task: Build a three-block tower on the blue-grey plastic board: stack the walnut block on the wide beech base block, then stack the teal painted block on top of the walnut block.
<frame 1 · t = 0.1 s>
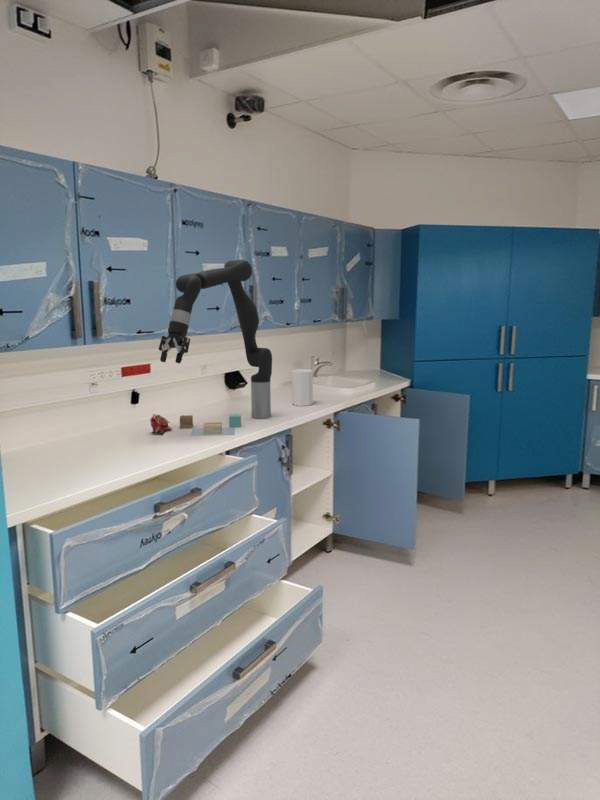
hand: (170, 362, 227), 31 cm above the worktop, tool tilted 20°, fingers open, 8 cm apart
base block: (212, 432, 240), point 1 cm above the worktop, touching board
board: (213, 434, 242), on the worktop
cup: (302, 404, 312), on the worktop
block teal: (235, 428, 253), on the worktop
block walnut: (186, 430, 251), on the worktop
flower: (161, 433, 245), on the worktop
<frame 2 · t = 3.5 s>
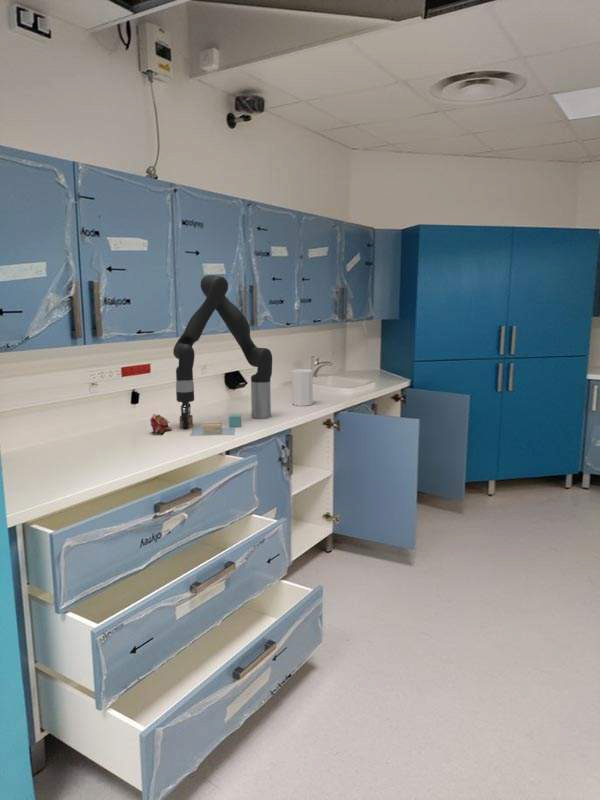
hand: (186, 428, 251), 0 cm above the worktop, tool pointing down, fingers closed on block walnut, 5 cm apart
block walnut: (186, 429, 251), on the worktop, touching gripper
everything else where it was.
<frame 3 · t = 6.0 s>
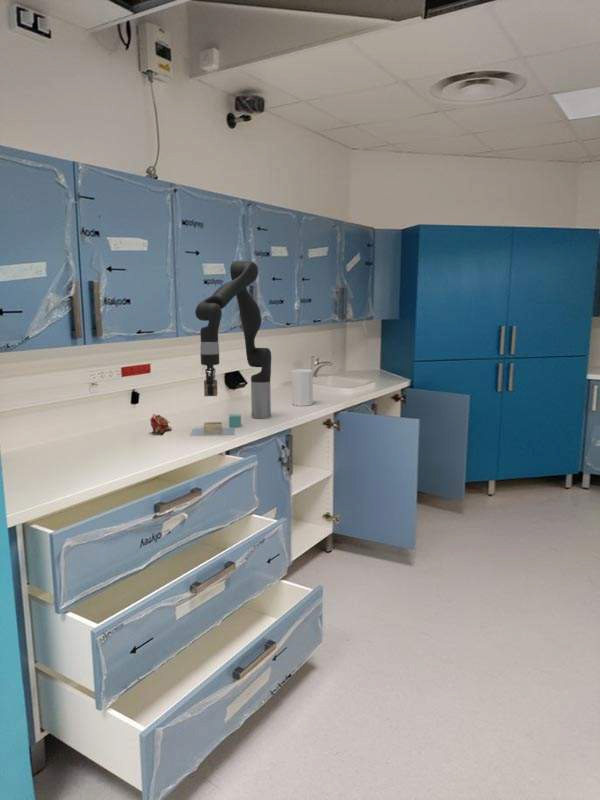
hand: (211, 394, 238), 17 cm above the worktop, tool pointing down, fingers closed on block walnut, 5 cm apart
block walnut: (211, 395, 238), point 17 cm above the worktop, touching gripper
everything else where it was.
when the fingers open (6 cm above the worktop, at t = 8.5 s): block walnut stays where it is, resting on base block.
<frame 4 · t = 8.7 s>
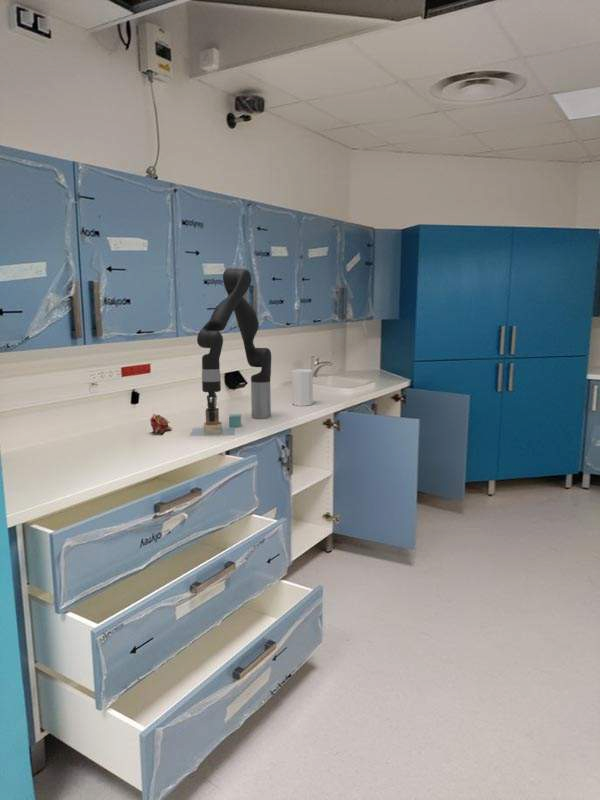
hand: (212, 419, 239), 7 cm above the worktop, tool pointing down, fingers open, 6 cm apart
base block: (212, 432, 240), point 1 cm above the worktop, touching block walnut, board
block walnut: (212, 423, 239), point 5 cm above the worktop, touching base block
everything else where it was.
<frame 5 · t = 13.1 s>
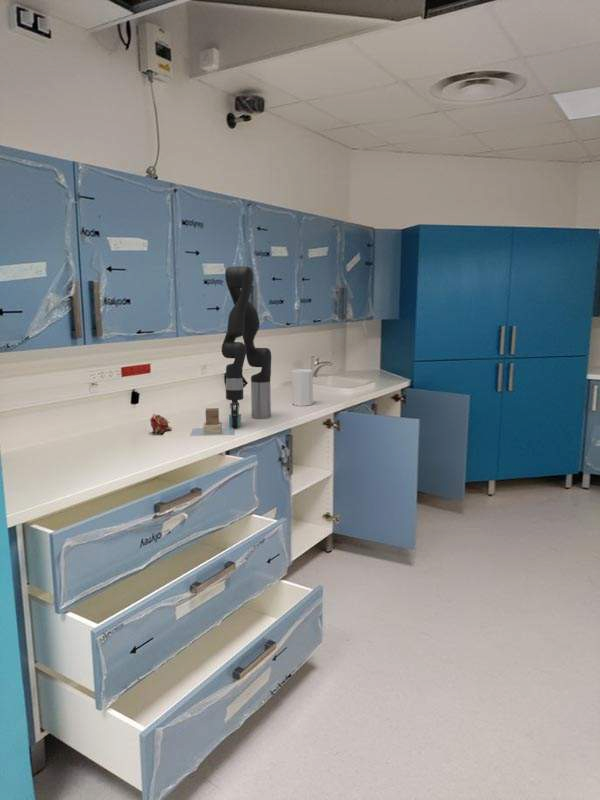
hand: (235, 426, 252), 1 cm above the worktop, tool pointing down, fingers open, 6 cm apart
block teal: (235, 428, 252), on the worktop, touching board, gripper
everything else where it was.
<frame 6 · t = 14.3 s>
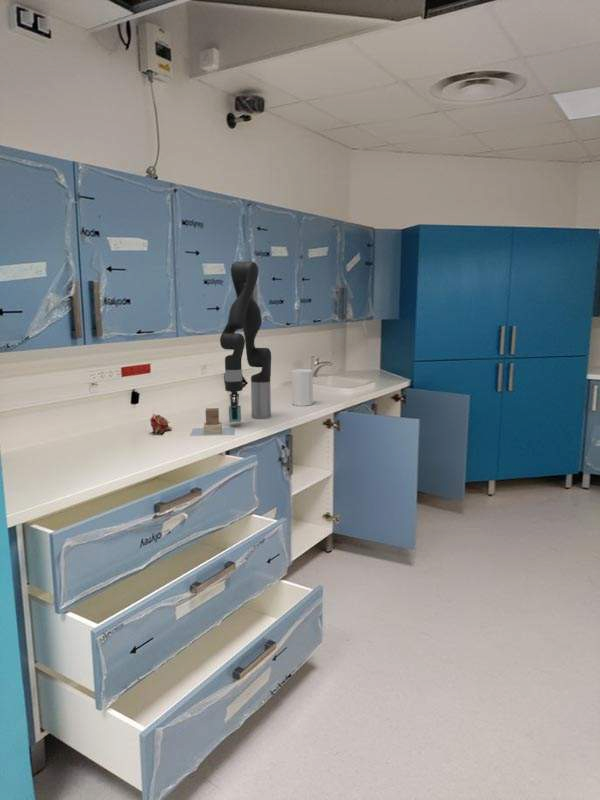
hand: (235, 417, 253), 5 cm above the worktop, tool pointing down, fingers closed on block teal, 5 cm apart
block teal: (235, 420, 253), point 4 cm above the worktop, touching gripper
everything else where it was.
when the fingers open (12 cm above the worktop, at t = 18.8 s): block teal stays where it is, resting on block walnut.
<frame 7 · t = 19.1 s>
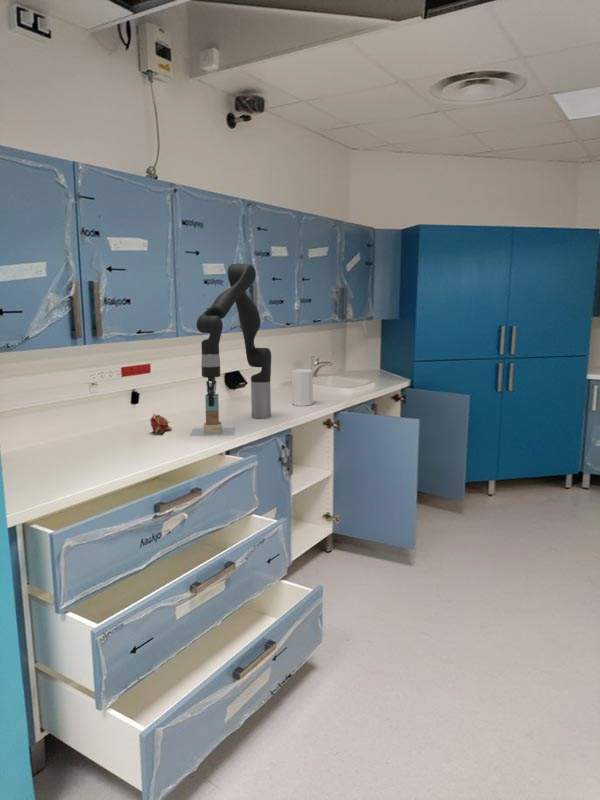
hand: (212, 404, 238), 13 cm above the worktop, tool pointing down, fingers open, 8 cm apart
block teal: (212, 409, 238), point 11 cm above the worktop, touching block walnut
block walnut: (212, 423, 239), point 5 cm above the worktop, touching base block, block teal
everything else where it was.
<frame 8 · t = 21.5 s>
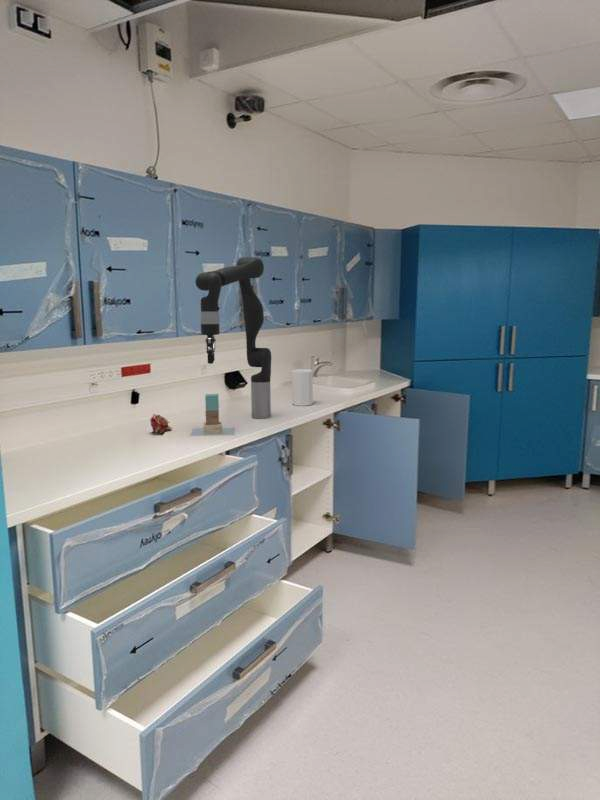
hand: (211, 362, 238), 30 cm above the worktop, tool pointing down, fingers open, 8 cm apart
nothing on the worktop moved.
at the end: block walnut 0.0 cm off-centre on the base block, point 3.8 cm above the base block's base; block teal 0.1 cm off-centre on the base block, point 9.8 cm above the base block's base; block teal tilted 0° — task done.
